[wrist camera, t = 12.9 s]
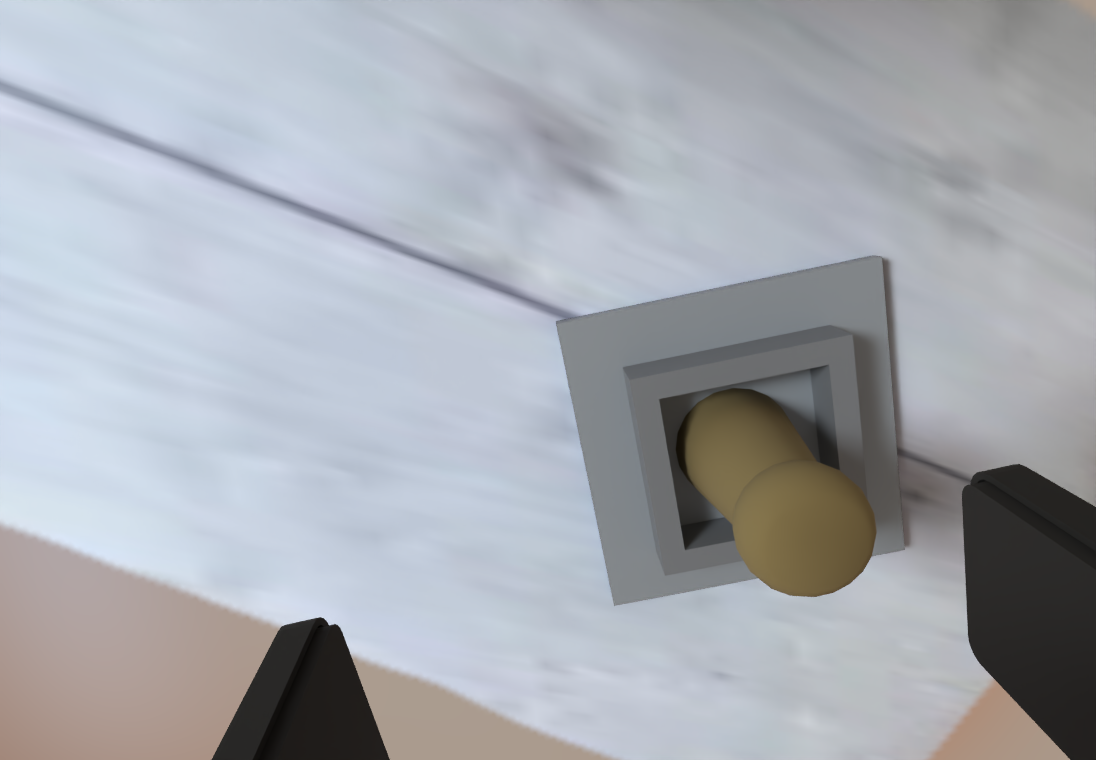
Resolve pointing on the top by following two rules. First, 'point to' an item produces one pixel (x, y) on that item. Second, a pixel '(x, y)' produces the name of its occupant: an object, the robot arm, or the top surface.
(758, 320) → the bay base
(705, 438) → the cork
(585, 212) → the top surface
